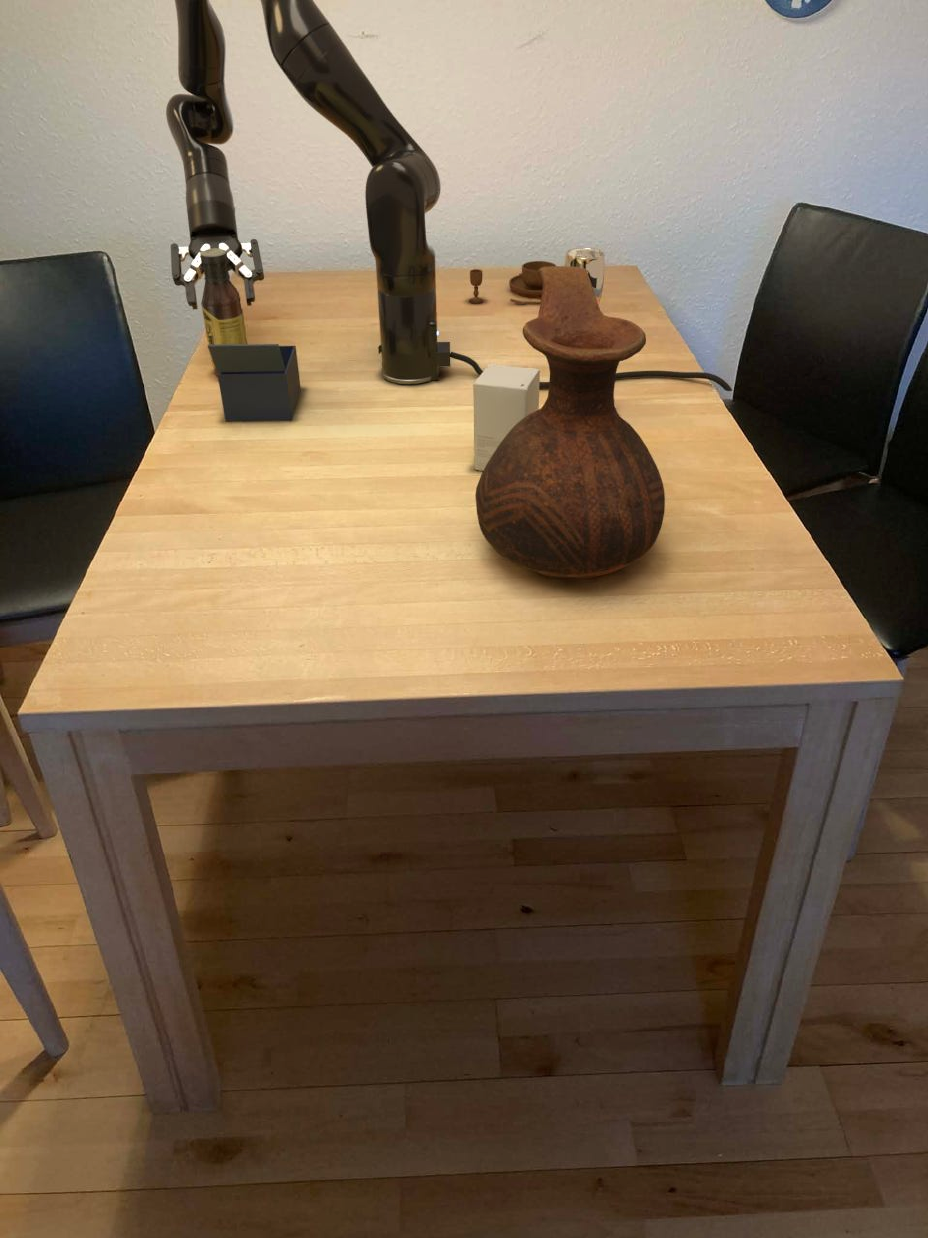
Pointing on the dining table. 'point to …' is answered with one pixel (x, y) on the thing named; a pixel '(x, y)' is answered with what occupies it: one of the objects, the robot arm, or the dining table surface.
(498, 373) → the white packaging box
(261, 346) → the flap
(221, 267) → the sauce bottle
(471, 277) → the place setting
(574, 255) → the beer glass
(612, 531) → the jug
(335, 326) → the dining table surface
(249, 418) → the carton
